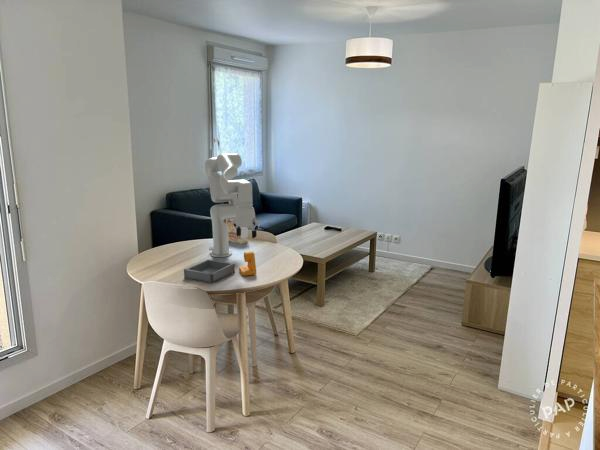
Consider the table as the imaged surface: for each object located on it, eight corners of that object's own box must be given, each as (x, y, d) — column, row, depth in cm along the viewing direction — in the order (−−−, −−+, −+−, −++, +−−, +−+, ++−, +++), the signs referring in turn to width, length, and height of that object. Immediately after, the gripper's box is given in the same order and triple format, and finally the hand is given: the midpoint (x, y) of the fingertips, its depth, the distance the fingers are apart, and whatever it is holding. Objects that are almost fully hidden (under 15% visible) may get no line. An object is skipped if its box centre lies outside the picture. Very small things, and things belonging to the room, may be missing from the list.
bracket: (238, 271, 245) (238, 250, 242) (251, 269, 247) (250, 248, 245) (243, 277, 235) (242, 255, 232) (256, 275, 238) (255, 254, 235)
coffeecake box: (226, 240, 310) (225, 213, 306) (233, 238, 316) (232, 211, 311) (240, 244, 301) (239, 216, 297) (248, 242, 306) (247, 214, 302)
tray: (184, 278, 233) (183, 269, 232) (208, 267, 250) (207, 259, 249) (212, 283, 225) (211, 274, 224) (234, 272, 242) (234, 263, 241)
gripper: (227, 205, 234) (229, 236, 237) (255, 207, 226) (256, 239, 230) (235, 203, 240) (236, 233, 244) (263, 205, 233) (264, 236, 236)
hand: (246, 236), depth 237 cm, fingers open, 9 cm apart
